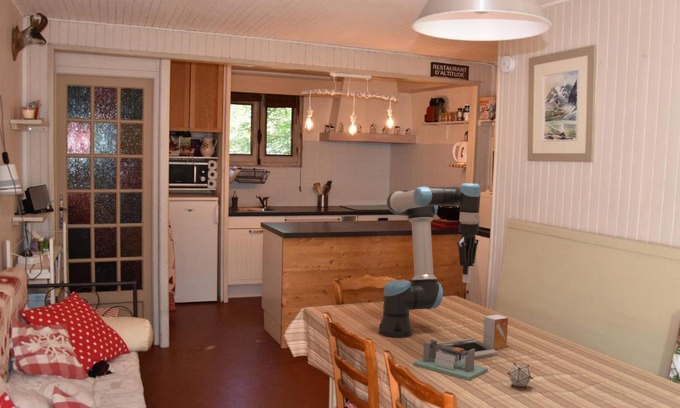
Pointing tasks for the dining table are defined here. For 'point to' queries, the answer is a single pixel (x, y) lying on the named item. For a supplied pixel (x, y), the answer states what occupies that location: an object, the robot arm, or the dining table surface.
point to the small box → (495, 331)
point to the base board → (463, 372)
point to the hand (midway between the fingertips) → (466, 282)
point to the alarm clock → (472, 347)
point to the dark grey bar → (449, 349)
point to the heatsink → (449, 360)
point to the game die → (520, 375)
